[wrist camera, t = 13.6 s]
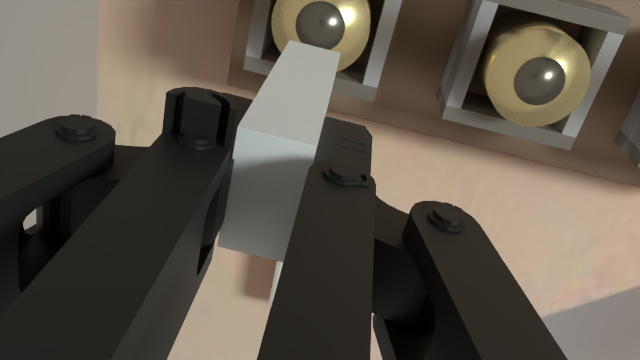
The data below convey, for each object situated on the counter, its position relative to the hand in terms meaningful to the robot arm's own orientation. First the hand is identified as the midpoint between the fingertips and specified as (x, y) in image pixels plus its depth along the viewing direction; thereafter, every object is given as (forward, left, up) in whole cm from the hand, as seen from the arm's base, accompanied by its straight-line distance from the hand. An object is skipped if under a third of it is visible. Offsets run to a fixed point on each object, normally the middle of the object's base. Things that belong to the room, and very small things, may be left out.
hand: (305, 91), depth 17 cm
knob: (+1, -1, -17) cm, 17 cm away
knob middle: (+1, +10, -17) cm, 20 cm away
